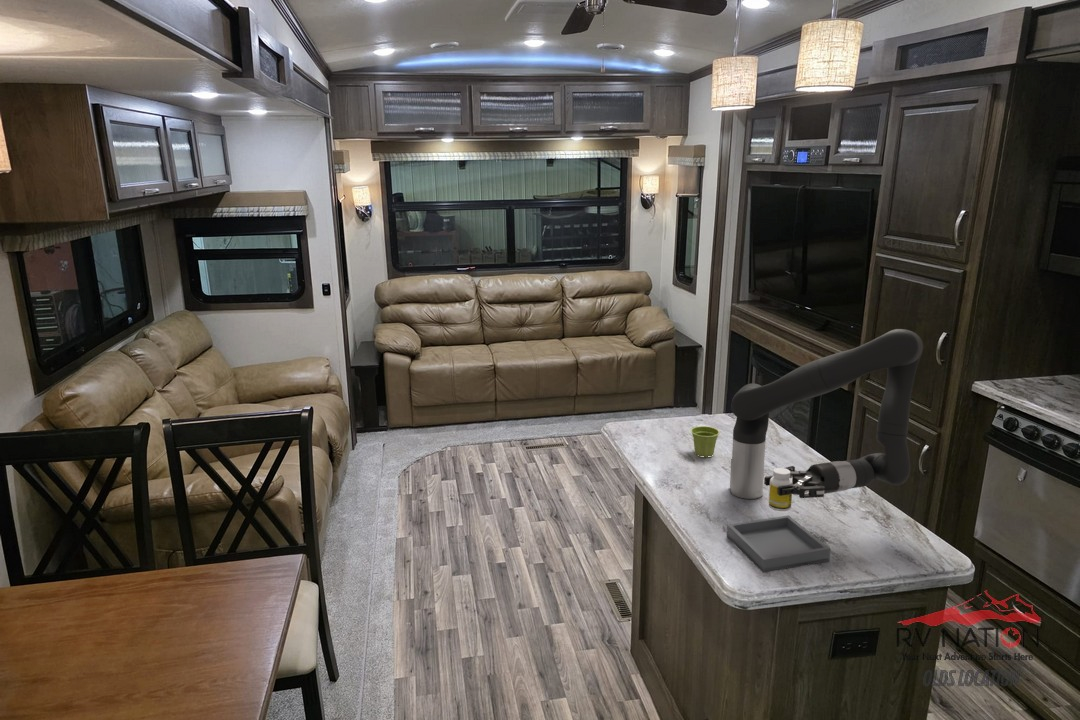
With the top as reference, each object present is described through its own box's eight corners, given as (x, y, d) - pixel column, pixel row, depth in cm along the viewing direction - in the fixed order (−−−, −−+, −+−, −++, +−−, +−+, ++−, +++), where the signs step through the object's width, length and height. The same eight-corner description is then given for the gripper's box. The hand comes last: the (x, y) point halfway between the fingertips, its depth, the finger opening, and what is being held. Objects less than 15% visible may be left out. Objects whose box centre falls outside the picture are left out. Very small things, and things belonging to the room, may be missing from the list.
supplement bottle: (792, 512, 171) (794, 475, 169) (769, 511, 173) (771, 474, 170) (789, 502, 177) (791, 466, 174) (767, 501, 178) (768, 466, 175)
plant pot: (722, 452, 239) (723, 428, 236) (713, 462, 231) (713, 437, 229) (696, 447, 243) (696, 424, 241) (686, 457, 236) (686, 433, 234)
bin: (726, 536, 184) (727, 524, 183) (787, 527, 188) (788, 515, 187) (763, 572, 167) (763, 559, 166) (829, 561, 171) (830, 548, 170)
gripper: (815, 452, 182) (756, 461, 178) (851, 474, 168) (788, 484, 165) (813, 479, 184) (755, 488, 180) (849, 503, 170) (787, 513, 167)
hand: (771, 486), depth 172 cm, fingers closed on supplement bottle, 5 cm apart
